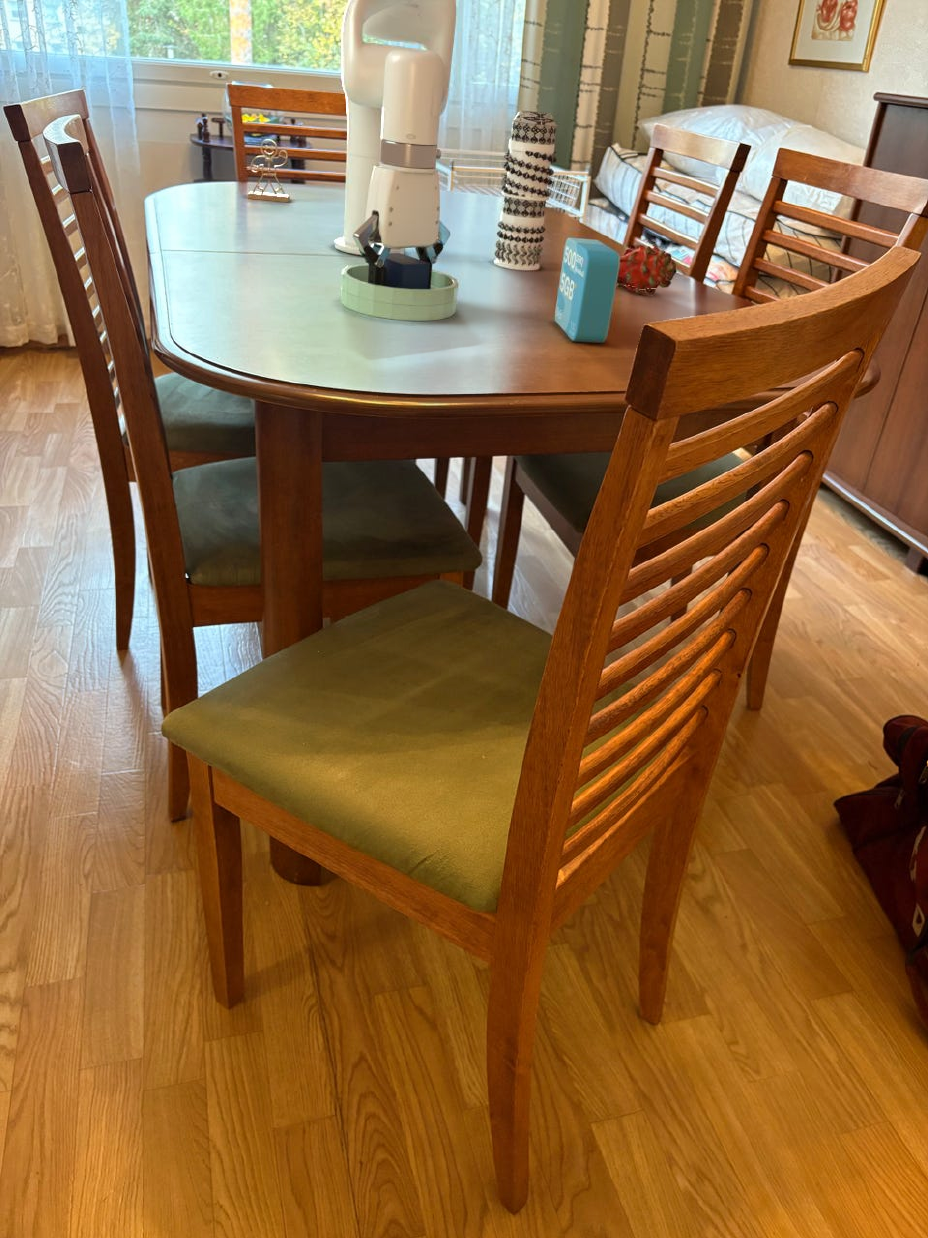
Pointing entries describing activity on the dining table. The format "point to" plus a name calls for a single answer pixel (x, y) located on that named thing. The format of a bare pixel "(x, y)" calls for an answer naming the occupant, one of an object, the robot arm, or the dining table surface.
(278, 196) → the wire figure figurine
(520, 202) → the decorative candle
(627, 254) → the dragon fruit
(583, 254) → the data package
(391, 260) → the navy blue block
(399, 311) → the bowl
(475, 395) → the dining table surface
